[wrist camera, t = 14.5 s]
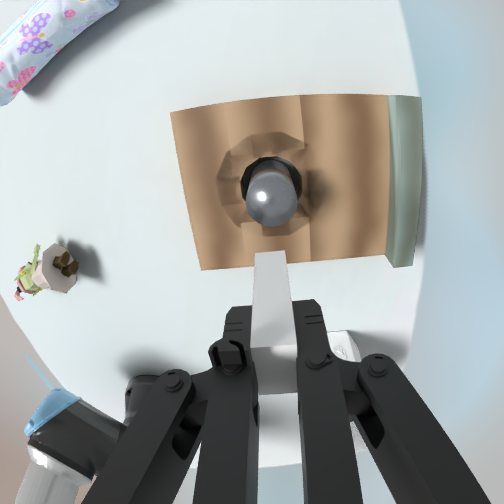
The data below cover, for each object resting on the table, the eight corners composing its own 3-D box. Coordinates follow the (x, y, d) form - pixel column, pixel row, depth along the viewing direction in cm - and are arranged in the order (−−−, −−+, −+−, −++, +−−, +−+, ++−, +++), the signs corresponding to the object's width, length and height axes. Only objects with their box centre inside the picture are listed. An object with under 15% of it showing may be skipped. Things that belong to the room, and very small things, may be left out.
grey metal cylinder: (253, 200, 33) (249, 229, 26) (248, 162, 31) (242, 181, 24) (292, 196, 33) (299, 223, 26) (288, 158, 31) (295, 174, 24)
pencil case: (113, -33, 19) (75, -57, 11) (135, 9, 23) (95, -14, 14) (6, 65, 24) (-40, 69, 15) (20, 107, 27) (-27, 118, 19)
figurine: (58, 224, 34) (12, 251, 37) (38, 267, 29) (-5, 287, 33) (95, 262, 40) (44, 280, 44) (82, 304, 35) (31, 315, 39)
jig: (205, 257, 37) (196, 284, 32) (178, 111, 29) (159, 113, 23) (393, 241, 35) (412, 265, 30) (396, 96, 26) (421, 97, 21)
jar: (360, 326, 42) (380, 389, 31) (353, 361, 45) (368, 420, 35) (302, 332, 42) (309, 399, 32) (301, 367, 46) (306, 428, 36)
